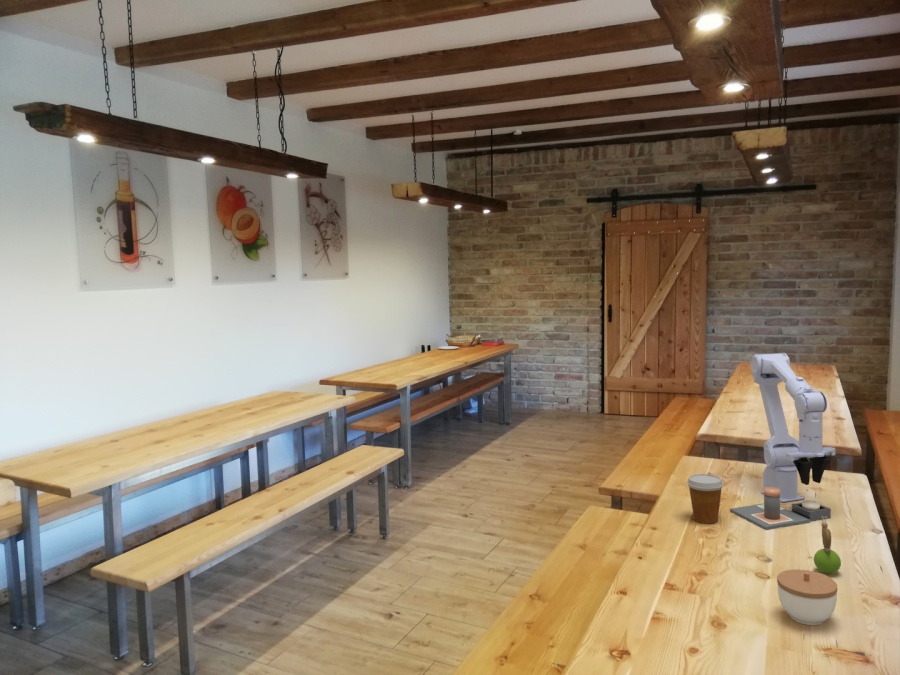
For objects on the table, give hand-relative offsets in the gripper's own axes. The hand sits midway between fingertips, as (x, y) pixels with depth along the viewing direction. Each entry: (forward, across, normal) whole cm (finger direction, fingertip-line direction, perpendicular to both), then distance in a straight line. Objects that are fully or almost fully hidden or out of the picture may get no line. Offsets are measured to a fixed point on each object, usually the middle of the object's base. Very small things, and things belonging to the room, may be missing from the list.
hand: (810, 482), depth 187 cm
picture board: (+9, -11, +4) cm, 15 cm away
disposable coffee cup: (+10, -28, +8) cm, 31 cm away
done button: (+7, 0, 0) cm, 7 cm away
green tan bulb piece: (+10, -22, -29) cm, 38 cm away
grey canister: (+8, -12, +1) cm, 15 cm away
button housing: (+9, 0, 0) cm, 9 cm away
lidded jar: (+10, -41, -44) cm, 61 cm away
